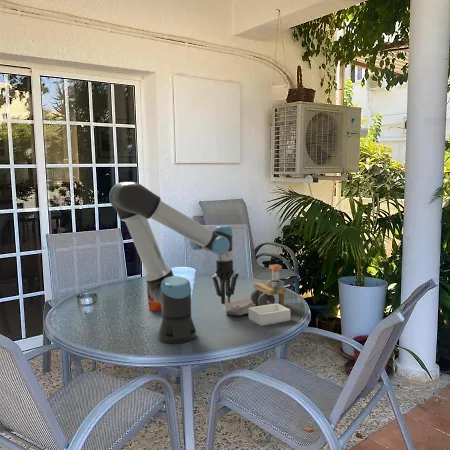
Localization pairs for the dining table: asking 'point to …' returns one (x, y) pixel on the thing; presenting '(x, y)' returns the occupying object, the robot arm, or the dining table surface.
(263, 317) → the tray
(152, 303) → the coffee cup
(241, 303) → the stone
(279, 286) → the trolley
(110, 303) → the dining table surface
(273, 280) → the pin
